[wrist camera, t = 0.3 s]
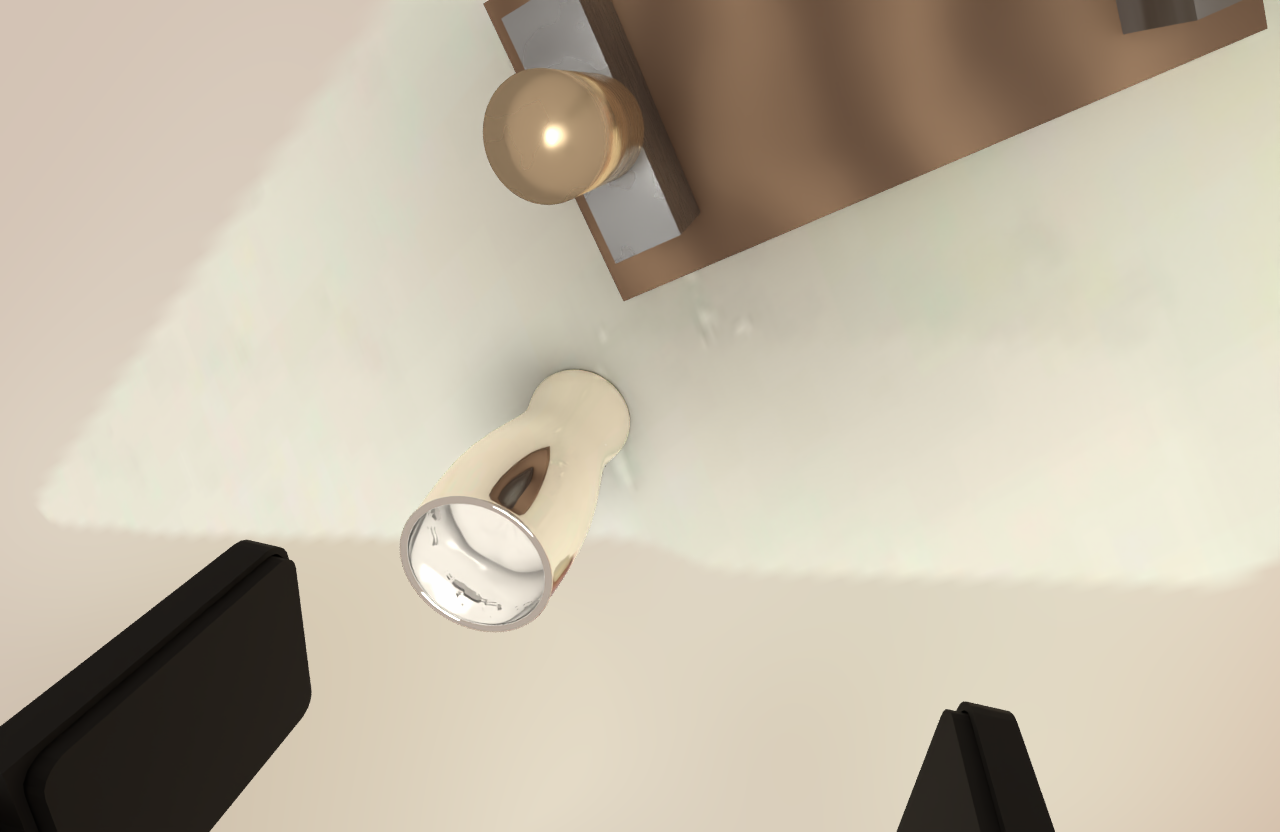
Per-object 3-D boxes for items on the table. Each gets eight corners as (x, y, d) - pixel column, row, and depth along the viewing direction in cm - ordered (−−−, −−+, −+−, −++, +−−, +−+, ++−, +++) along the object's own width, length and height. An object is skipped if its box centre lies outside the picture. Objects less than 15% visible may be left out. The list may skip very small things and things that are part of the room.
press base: (1168, -420, 24) (1306, -617, 17) (1245, 31, 28) (1380, 12, 22) (496, 7, 34) (419, -15, 27) (630, 294, 38) (592, 336, 32)
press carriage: (619, -10, 31) (520, -65, 20) (710, 208, 34) (665, 260, 23) (542, 36, 32) (411, 8, 22) (636, 242, 35) (561, 306, 24)
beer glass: (546, 477, 44) (432, 643, 31) (508, 374, 42) (367, 505, 28) (652, 459, 42) (579, 629, 29) (618, 350, 40) (522, 480, 26)
